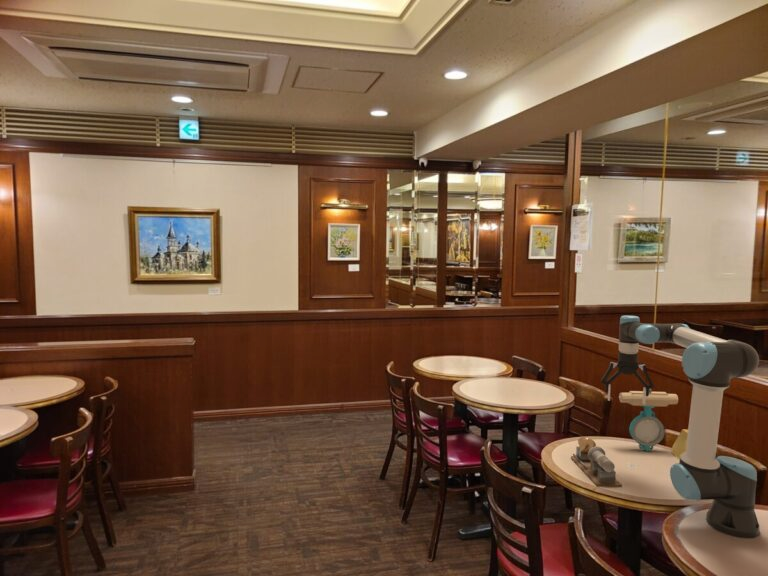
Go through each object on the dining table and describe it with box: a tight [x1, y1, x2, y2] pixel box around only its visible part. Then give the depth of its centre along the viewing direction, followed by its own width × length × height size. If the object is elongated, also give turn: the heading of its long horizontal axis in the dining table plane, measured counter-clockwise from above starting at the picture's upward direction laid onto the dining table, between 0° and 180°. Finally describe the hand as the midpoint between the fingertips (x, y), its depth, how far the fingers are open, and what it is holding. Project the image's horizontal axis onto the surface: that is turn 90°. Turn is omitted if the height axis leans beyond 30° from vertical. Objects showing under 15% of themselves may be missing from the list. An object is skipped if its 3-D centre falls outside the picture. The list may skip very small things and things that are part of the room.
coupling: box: [575, 436, 597, 461], centre depth 231 cm, size 6×7×10 cm
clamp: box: [671, 428, 688, 461], centre depth 232 cm, size 20×9×16 cm, turn 177°
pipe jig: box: [570, 445, 623, 488], centre depth 221 cm, size 29×10×12 cm, turn 1°
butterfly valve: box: [618, 388, 679, 452], centre depth 245 cm, size 27×7×30 cm, turn 84°
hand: (626, 401), depth 220 cm, fingers open, 13 cm apart
